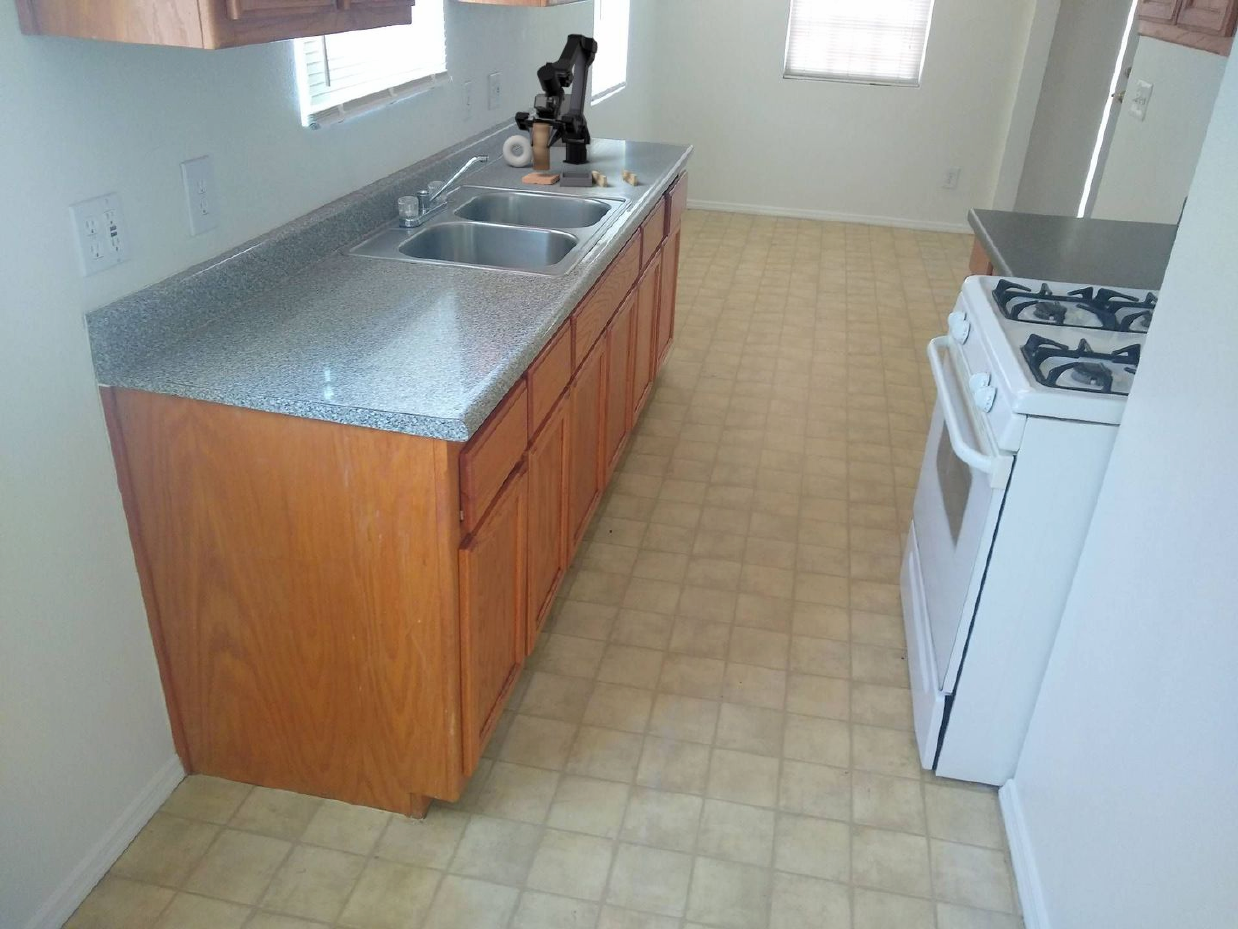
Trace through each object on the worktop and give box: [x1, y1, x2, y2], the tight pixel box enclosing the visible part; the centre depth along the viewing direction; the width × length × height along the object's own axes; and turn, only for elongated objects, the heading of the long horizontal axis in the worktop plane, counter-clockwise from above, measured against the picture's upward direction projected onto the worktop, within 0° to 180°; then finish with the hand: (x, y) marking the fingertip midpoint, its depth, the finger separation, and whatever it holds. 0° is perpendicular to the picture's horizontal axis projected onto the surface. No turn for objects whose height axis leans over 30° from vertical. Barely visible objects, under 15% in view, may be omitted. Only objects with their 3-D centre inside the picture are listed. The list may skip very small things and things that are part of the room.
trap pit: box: [559, 171, 593, 188], centre depth 288 cm, size 10×10×2 cm
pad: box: [521, 171, 560, 185], centre depth 290 cm, size 9×9×2 cm
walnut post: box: [532, 123, 551, 172], centre depth 286 cm, size 5×5×13 cm
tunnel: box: [591, 168, 638, 188], centre depth 290 cm, size 10×11×3 cm
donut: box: [502, 134, 533, 168], centre depth 306 cm, size 10×4×10 cm, turn 87°
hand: (539, 146), depth 285 cm, fingers closed on walnut post, 5 cm apart
